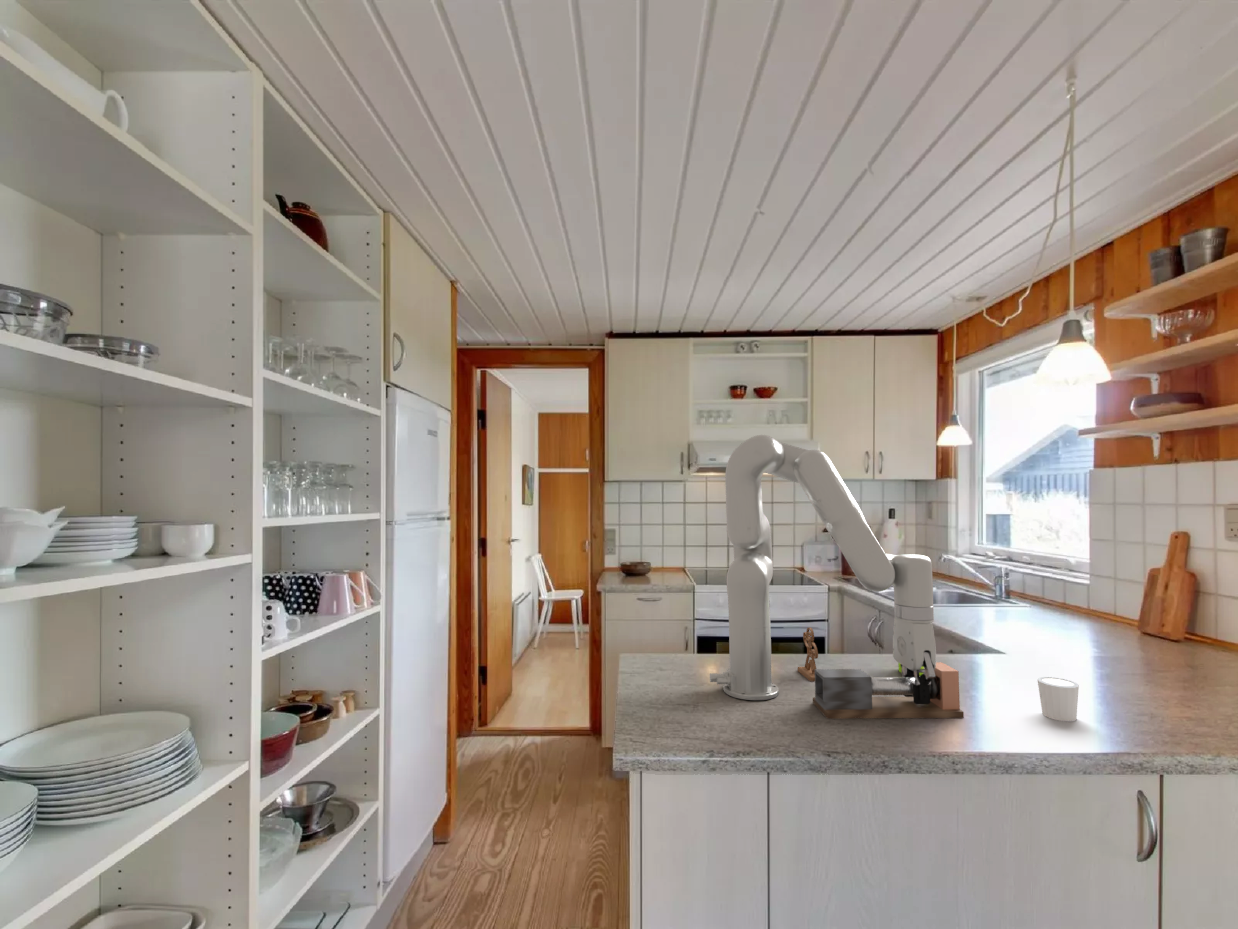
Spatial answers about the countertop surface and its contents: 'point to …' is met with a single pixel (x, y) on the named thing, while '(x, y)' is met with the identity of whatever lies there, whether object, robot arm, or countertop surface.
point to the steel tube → (901, 686)
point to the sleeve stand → (866, 699)
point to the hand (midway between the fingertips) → (916, 699)
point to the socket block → (947, 687)
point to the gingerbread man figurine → (811, 666)
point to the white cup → (1058, 698)
